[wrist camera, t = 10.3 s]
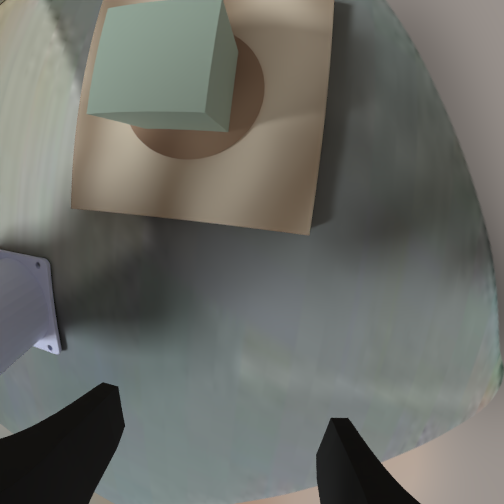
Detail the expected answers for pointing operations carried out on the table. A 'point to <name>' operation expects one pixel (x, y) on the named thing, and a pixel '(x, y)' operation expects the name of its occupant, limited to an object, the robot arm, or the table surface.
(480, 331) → the table surface
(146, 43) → the green block
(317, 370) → the table surface
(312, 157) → the display base
